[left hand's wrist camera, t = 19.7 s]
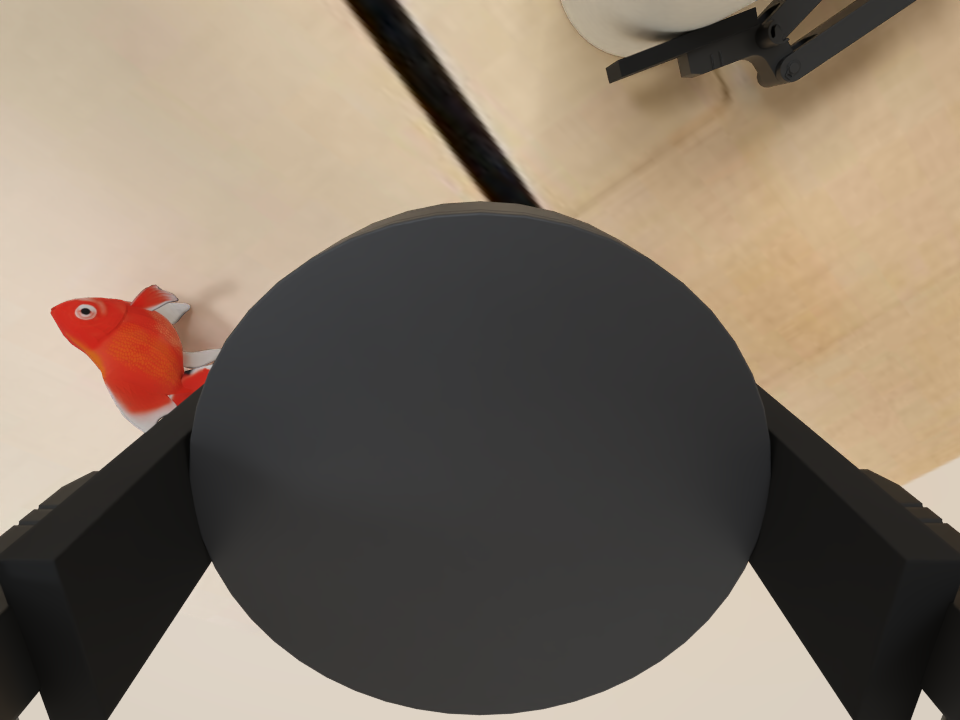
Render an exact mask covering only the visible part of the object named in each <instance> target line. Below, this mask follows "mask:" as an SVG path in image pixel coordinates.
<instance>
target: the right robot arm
mask: <svg viewBox="0 0 960 720" xmlns="http://www.w3.org/2000/svg"><path fill="white" fill-rule="evenodd" d="M820 1H821V0H773V1H772V2H771V3H770V4H769V5H768V6H767V7H766V9H765V10H764V11H763V12H762V13H761V14H760V15H759V16H758V17H757V12H756V7H755V8H752V9H750V10H747V11H744V12H742V13H739V14H737V15H734V16H731V17H729V18H726V19H724V20H721V21H719V22H716V23H713V24H711V25H708V26H706V27H703V28H700V29H698V30H695V31H693V32H690V33H687V34H685V35H682V36H680V37H677V38H674V39H672V40H669V41H667V42H664V43H662V44H659V45H656V46H654V47H651V48H649V49H646V50H643V51H641V52H638V53H636V54H633V55H630V56H628V57H625V58H623V59H620V60H618V61H616V62H615V63H613V64H612V65H610V66H609V67H607V68H606V71H607V75H608V79H609V83H612V82H615V81H617V80H620V79H623V78H625V77H628V76H631V75H633V74H636V73H638V72H641V71H644V70H646V69H649V68H651V67H654V66H657V65H659V64H662V63H665V62H667V61H670V60H672V59H675V58H678V63H679V68H680V73H681V77H688V78H692V77H695V76H698V75H701V74H704V73H706V72H709V71H712V70H714V69H717V68H720V67H722V66H725V65H728V64H730V63H733V62H736V61H738V60H747V61H749V62H751V63H752V64H753V66H754V67H755V69H756V70H757V72H758V74H757V80H758V83H759V84H760V85H761V86H763V87H772V86H777V85H781V84H786V83H790V82H794V81H796V80H798V79H800V78H801V77H803V76H804V75H806V74H807V73H809V72H810V71H812V70H813V69H815V68H816V67H818V66H819V65H821V64H822V63H824V62H825V61H827V60H828V59H830V58H831V57H833V56H834V55H836V54H837V53H839V52H840V51H842V50H843V49H844V48H846V47H847V46H849V45H850V44H852V43H853V42H855V41H856V40H858V39H859V38H861V37H862V36H864V35H865V34H867V33H868V32H870V31H871V30H873V29H874V28H876V27H877V26H879V25H880V24H882V23H883V22H885V21H886V20H888V19H889V18H891V17H892V16H894V15H895V14H896V13H898V12H899V11H901V10H902V9H904V8H905V7H907V6H908V5H910V4H911V3H913V2H914V1H916V0H856V1H855V2H853V3H852V4H850V5H849V6H847V7H846V8H844V9H843V10H841V11H840V12H839V13H837V14H836V15H834V16H833V17H831V18H830V19H828V20H827V21H825V22H824V23H823V24H821V25H820V26H818V27H817V28H815V29H814V30H812V31H811V32H809V33H808V34H807V35H805V36H804V37H802V38H801V39H799V40H798V41H796V42H795V43H793V44H792V45H791V46H790V44H789V42H788V40H790V39H789V38H786V37H787V36H788V35H789V34H790V33H791V32H792V31H793V30H794V29H795V28H796V27H797V26H798V25H799V24H800V22H801V21H802V20H803V19H804V18H805V17H806V16H807V15H808V14H809V13H810V12H811V11H812V10H813V9H814V8H815V7H816V6H817V5H818V4H819V3H820Z"/></svg>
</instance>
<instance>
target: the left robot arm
mask: <svg viewBox="0 0 960 720" xmlns="http://www.w3.org/2000/svg"><path fill="white" fill-rule="evenodd" d="M204 384H205V383H204ZM204 384H203V385H202V386H201V387H199V388H198V389H197V390H196V391H195V392H193V393H192V394H191V395H190V396H189V397H187V398H186V399H185V400H184V401H183V402H181V403H180V404H179V405H178V406H177V407H175V408H174V409H173V410H172V411H171V412H169V413H168V414H167V415H166V416H165V417H163V418H162V419H161V420H160V421H159V422H157V423H156V424H155V425H154V426H153V427H151V428H150V429H149V430H148V431H147V432H145V433H144V434H143V435H142V436H141V437H139V438H138V439H137V440H136V441H135V442H133V443H132V444H131V445H130V446H129V447H127V448H126V449H125V450H124V451H123V452H121V453H120V454H119V455H118V456H117V457H115V458H114V459H113V460H112V461H111V462H109V463H108V464H107V465H106V466H105V467H103V468H102V469H101V470H100V471H93V472H91V473H89V474H87V475H85V476H83V477H81V478H79V479H77V480H75V481H73V482H71V483H69V484H67V485H65V486H63V487H62V488H60V489H59V490H58V491H57V492H55V493H54V494H53V495H52V496H50V497H49V498H48V499H47V500H45V501H44V502H43V503H41V504H40V505H39V508H38V509H34V510H33V511H31V512H30V513H29V514H28V515H26V516H25V517H24V518H23V519H21V520H20V521H19V525H14V526H13V527H11V528H10V529H9V530H8V531H6V532H5V533H4V534H3V535H1V536H0V720H19V718H18V716H19V715H20V714H21V713H22V711H23V710H24V709H25V708H26V707H27V705H28V704H29V703H30V702H31V700H32V699H33V698H34V697H35V696H36V694H37V693H38V692H39V691H40V694H41V697H42V700H43V702H44V705H45V708H46V710H47V713H48V716H49V719H50V720H108V718H109V717H110V715H111V714H112V712H113V711H114V709H115V707H116V706H117V704H118V703H119V701H120V700H121V698H122V697H123V695H124V694H125V692H126V691H127V689H128V688H129V686H130V685H131V683H132V682H133V680H134V679H135V677H136V676H137V674H138V673H139V671H140V669H141V668H142V666H143V665H144V663H145V662H146V660H147V659H148V657H149V656H150V654H151V653H152V651H153V650H154V648H155V647H156V645H157V644H158V642H159V641H160V639H161V638H162V636H163V635H164V633H165V631H166V630H167V628H168V627H169V625H170V624H171V622H172V621H173V619H174V618H175V616H176V615H177V613H178V612H179V610H180V609H181V607H182V606H183V604H184V603H185V601H186V600H187V598H188V597H189V595H190V594H191V592H192V591H193V589H194V587H195V586H196V584H197V583H198V581H199V580H200V578H201V577H202V575H203V574H204V572H205V571H206V569H207V568H208V566H209V565H210V563H211V562H212V560H211V558H210V555H209V553H208V551H207V549H206V546H205V544H204V542H203V540H202V537H201V533H200V529H199V524H198V520H197V515H196V511H195V506H194V501H193V495H192V490H191V485H190V478H189V462H190V438H191V433H192V428H193V422H194V417H195V411H196V406H197V403H198V401H199V398H200V395H201V392H202V389H203V386H204ZM756 386H757V389H758V391H759V394H760V397H761V400H762V403H763V406H764V410H765V415H766V421H767V426H768V432H769V437H770V449H771V481H770V488H769V493H768V498H767V504H766V509H765V513H764V518H763V522H762V527H761V531H760V534H759V538H758V541H757V543H756V545H755V547H754V550H753V552H752V554H751V556H750V558H749V563H750V564H751V566H752V567H753V569H754V570H755V572H756V573H757V575H758V576H759V578H760V579H761V581H762V582H763V584H764V585H765V587H766V588H767V590H768V591H769V593H770V594H771V596H772V598H773V599H774V601H775V602H776V604H777V605H778V607H779V608H780V610H781V611H782V613H783V614H784V616H785V617H786V619H787V620H788V622H789V623H790V625H791V626H792V628H793V629H794V631H795V632H796V634H797V635H798V637H799V639H800V640H801V642H802V643H803V645H804V646H805V648H806V649H807V651H808V652H809V654H810V655H811V657H812V658H813V660H814V661H815V663H816V664H817V666H818V667H819V669H820V670H821V672H822V673H823V675H824V677H825V678H826V680H827V681H828V683H829V684H830V686H831V687H832V689H833V690H834V692H835V693H836V695H837V696H838V698H839V699H840V701H841V702H842V704H843V705H844V707H845V708H846V710H847V711H848V713H849V715H850V716H851V718H852V719H853V720H911V717H912V715H913V712H914V709H915V707H916V704H917V701H918V698H919V696H920V693H921V690H922V689H923V691H924V692H925V693H926V694H927V695H928V697H929V698H930V699H931V700H932V702H933V703H934V704H935V705H936V706H937V708H938V709H939V710H940V711H941V712H942V714H943V716H942V718H941V720H960V533H959V532H958V531H956V530H955V529H954V528H952V527H951V526H950V525H949V524H947V523H943V522H942V519H941V518H940V517H939V516H937V515H936V514H935V513H934V512H932V511H931V510H930V509H929V508H927V507H923V506H922V503H921V502H920V501H918V500H917V499H916V498H915V497H913V496H912V495H911V494H910V493H908V492H907V491H906V490H905V489H903V488H902V487H901V486H900V485H898V484H896V483H894V482H892V481H890V480H888V479H886V478H884V477H882V476H880V475H878V474H876V473H874V472H872V471H870V470H868V469H858V468H857V467H856V466H855V465H853V464H852V463H851V462H850V461H849V460H847V459H846V458H845V457H844V456H843V455H841V454H840V453H839V452H838V451H837V450H835V449H834V448H833V447H832V446H831V445H829V444H828V443H827V442H826V441H825V440H823V439H822V438H821V437H820V436H819V435H817V434H816V433H815V432H814V431H813V430H811V429H810V428H809V427H808V426H807V425H805V424H804V423H803V422H802V421H801V420H799V419H798V418H797V417H796V416H795V415H793V414H792V413H791V412H790V411H789V410H787V409H786V408H785V407H784V406H783V405H781V404H780V403H779V402H778V401H777V400H775V399H774V398H773V397H772V396H771V395H769V394H768V393H767V392H766V391H765V390H763V389H762V388H761V387H760V386H759V385H757V384H756Z"/></svg>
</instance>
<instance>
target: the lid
mask: <svg viewBox="0 0 960 720" xmlns="http://www.w3.org/2000/svg"><path fill="white" fill-rule="evenodd" d="M189 478H190V485H191V490H192V495H193V501H194V506H195V511H196V515H197V520H198V524H199V529H200V533H201V537H202V540H203V542H204V544H205V546H206V549H207V551H208V553H209V555H210V558H211V560H212V562H213V564H214V567H215V569H216V570H217V572H218V574H219V575H220V577H221V578H222V580H223V582H224V583H225V585H226V587H227V588H228V590H229V591H230V593H231V595H232V596H233V597H234V598H235V600H236V601H237V602H238V603H239V605H240V606H241V607H242V608H243V610H244V611H245V612H246V613H247V615H248V616H249V617H250V618H251V619H252V620H253V621H254V622H255V623H256V624H257V625H258V626H259V627H260V628H261V629H262V630H263V631H264V632H265V633H266V634H267V635H268V636H269V637H270V638H271V639H272V640H273V641H274V642H276V643H277V644H278V645H279V646H281V647H282V648H283V649H285V650H286V651H287V652H289V653H290V654H291V655H292V656H294V657H295V658H296V659H298V660H299V661H301V662H302V663H304V664H305V665H307V666H309V667H310V668H312V669H314V670H315V671H317V672H319V673H320V674H322V675H324V676H325V677H327V678H329V679H331V680H333V681H336V682H338V683H340V684H342V685H344V686H346V687H348V688H350V689H353V690H355V691H357V692H360V693H363V694H366V695H369V696H371V697H374V698H377V699H380V700H383V701H386V702H390V703H394V704H398V705H402V706H406V707H410V708H415V709H420V710H427V711H434V712H441V713H448V714H468V715H493V714H513V713H520V712H526V711H534V710H541V709H546V708H550V707H554V706H558V705H563V704H567V703H571V702H575V701H578V700H580V699H583V698H586V697H589V696H592V695H595V694H598V693H601V692H603V691H606V690H608V689H610V688H612V687H614V686H616V685H619V684H621V683H623V682H625V681H627V680H629V679H631V678H633V677H635V676H637V675H638V674H640V673H642V672H643V671H645V670H647V669H648V668H650V667H652V666H653V665H655V664H657V663H658V662H660V661H661V660H663V659H664V658H665V657H667V656H668V655H669V654H671V653H672V652H673V651H674V650H676V649H677V648H678V647H680V646H681V645H682V644H684V643H685V642H686V641H687V640H688V639H689V638H690V637H691V636H692V635H693V634H694V633H695V632H697V631H698V630H699V629H700V628H701V627H702V626H703V625H704V624H705V623H706V622H707V621H708V620H709V619H710V617H711V616H712V615H713V614H714V613H715V611H716V610H717V609H718V608H719V606H720V605H721V604H722V603H723V601H724V600H725V599H726V598H727V597H728V595H729V594H730V592H731V590H732V589H733V587H734V586H735V584H736V582H737V581H738V579H739V577H740V576H741V574H742V573H743V571H744V569H745V567H746V565H747V563H748V561H749V558H750V556H751V554H752V552H753V550H754V547H755V545H756V543H757V541H758V538H759V534H760V531H761V527H762V522H763V518H764V513H765V509H766V504H767V498H768V493H769V488H770V481H771V449H770V437H769V432H768V426H767V421H766V415H765V410H764V406H763V403H762V400H761V397H760V394H759V391H758V389H757V386H756V383H755V380H754V377H753V374H752V372H751V370H750V369H749V367H748V365H747V363H746V361H745V359H744V357H743V356H742V354H741V352H740V350H739V348H738V346H737V344H736V343H735V341H734V340H733V338H732V337H731V336H730V334H729V333H728V332H727V330H726V329H725V328H724V326H723V325H722V324H721V322H720V321H719V320H718V318H717V317H716V316H715V314H714V313H713V312H712V311H711V310H710V309H709V308H708V307H707V306H706V305H705V304H704V303H703V302H702V301H701V300H700V299H699V298H698V297H697V296H696V295H695V294H694V293H693V292H692V291H691V290H690V289H689V288H688V287H687V286H686V285H685V284H684V283H683V282H681V281H680V280H678V279H677V278H676V277H674V276H673V275H671V274H670V273H669V272H667V271H666V270H665V269H663V268H662V267H660V266H659V265H658V264H656V263H655V262H653V261H652V260H651V259H649V258H648V257H646V256H644V255H643V254H641V253H640V252H638V251H636V250H635V249H633V248H631V247H630V246H628V245H627V244H625V243H623V242H622V241H620V240H618V239H616V238H615V237H613V236H611V235H609V234H607V233H605V232H603V231H601V230H599V229H597V228H595V227H594V226H592V225H590V224H588V223H585V222H582V221H579V220H576V219H574V218H571V217H568V216H565V215H562V214H560V213H557V212H554V211H549V210H544V209H540V208H535V207H530V206H525V205H520V204H512V203H497V202H483V201H478V202H463V203H448V204H440V205H435V206H430V207H425V208H420V209H416V210H411V211H406V212H404V213H401V214H398V215H395V216H392V217H389V218H387V219H384V220H381V221H378V222H375V223H373V224H371V225H369V226H367V227H365V228H363V229H361V230H359V231H357V232H355V233H353V234H351V235H349V236H348V237H346V238H344V239H342V240H340V241H338V242H337V243H335V244H334V245H332V246H330V247H329V248H327V249H325V250H324V251H322V252H321V253H319V254H318V255H316V256H314V257H312V258H311V259H310V260H308V261H307V262H305V263H304V264H303V265H301V266H300V267H298V268H297V269H296V270H294V271H293V272H291V273H290V274H289V275H287V276H286V277H284V278H283V279H282V280H280V281H279V282H278V283H277V284H275V285H274V286H273V287H272V288H271V289H270V290H269V291H268V292H267V293H266V294H265V295H264V296H263V297H262V298H261V299H260V300H259V301H258V302H257V303H256V304H255V305H254V306H253V307H252V308H251V309H250V310H249V311H248V312H247V313H246V315H245V316H244V317H243V319H242V320H241V321H240V323H239V324H238V325H237V327H236V328H235V329H234V330H233V332H232V333H231V334H230V336H229V337H228V338H227V340H226V341H225V343H224V345H223V347H222V349H221V350H220V352H219V354H218V356H217V358H216V360H215V361H214V363H213V365H212V367H211V369H210V371H209V373H208V375H207V378H206V381H205V384H204V386H203V389H202V392H201V395H200V398H199V401H198V403H197V406H196V411H195V417H194V422H193V428H192V433H191V438H190V462H189Z"/></svg>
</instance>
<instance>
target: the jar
mask: <svg viewBox="0 0 960 720" xmlns="http://www.w3.org/2000/svg"><path fill="white" fill-rule="evenodd" d="M755 1H757V0H561V3H562V6H563V8H564V10H565V13H566V15H567V17H568V18H569V20H570V22H571V23H572V25H573V26H574V28H575V29H576V30H577V31H578V33H579V34H580V35H581V36H582V37H583V38H584V39H585V40H587V41H588V42H589V43H590V44H592V45H593V46H595V47H596V48H598V49H600V50H602V51H604V52H606V53H609V54H612V55H615V56H620V57H628V56H630V55H633V54H636V53H638V52H641V51H643V50H646V49H649V48H651V47H654V46H656V45H659V44H662V43H664V42H667V41H669V40H672V39H674V38H677V37H680V36H682V35H685V34H687V33H690V32H693V31H695V30H698V29H700V28H703V27H706V26H708V25H711V24H713V23H716V22H718V21H720V20H722V19H724V18H726V17H728V16H729V15H731V14H733V13H735V12H737V11H739V10H740V9H742V8H744V7H746V6H748V5H750V4H751V3H753V2H755Z"/></svg>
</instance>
